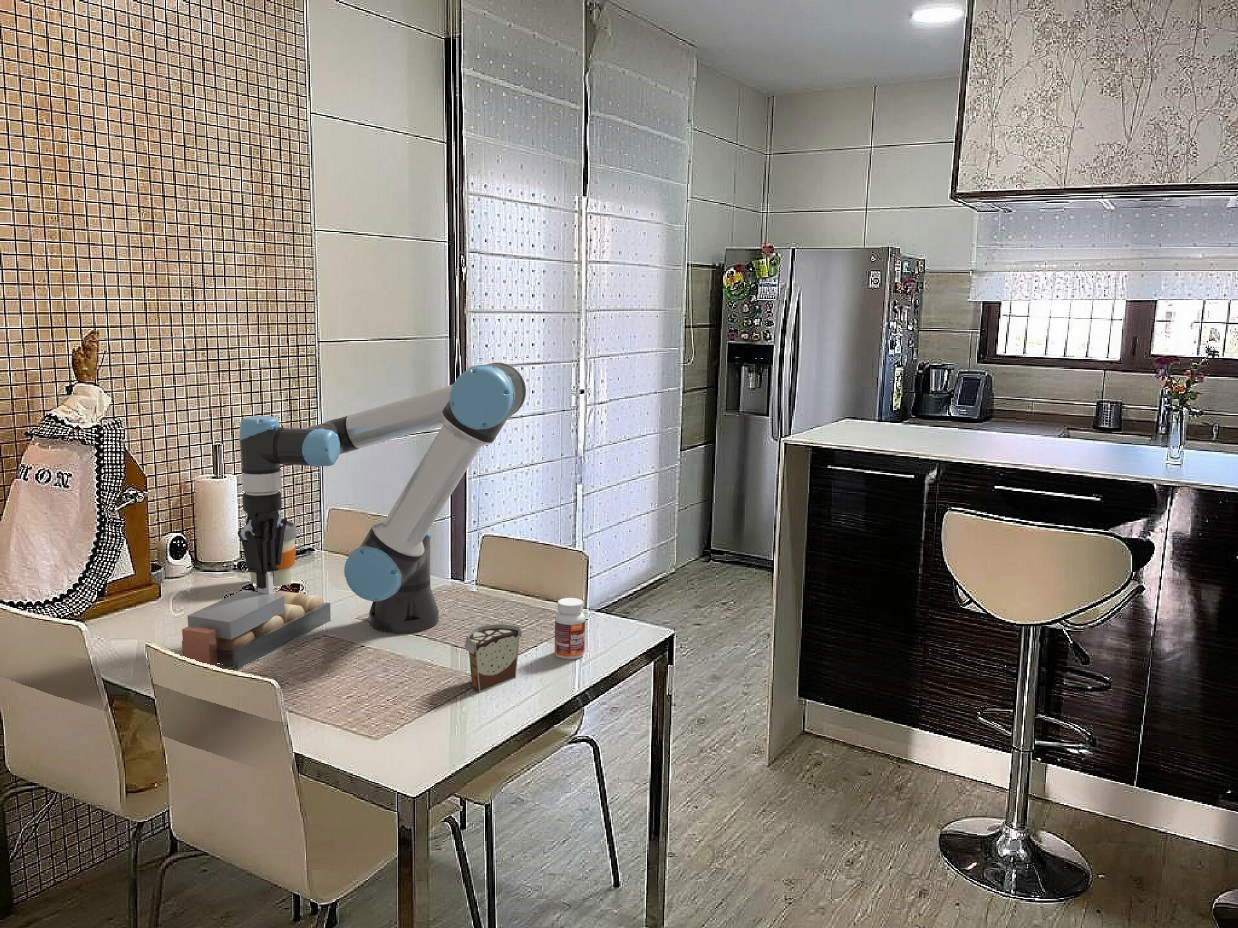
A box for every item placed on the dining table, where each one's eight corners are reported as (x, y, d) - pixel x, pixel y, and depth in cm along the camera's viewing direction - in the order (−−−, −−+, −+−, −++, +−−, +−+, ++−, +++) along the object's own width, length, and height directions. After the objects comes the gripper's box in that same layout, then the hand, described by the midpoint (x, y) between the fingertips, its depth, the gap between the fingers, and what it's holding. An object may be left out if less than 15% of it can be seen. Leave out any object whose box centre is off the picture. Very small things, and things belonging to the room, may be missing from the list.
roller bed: (330, 620, 207) (329, 585, 205) (225, 676, 175) (223, 635, 174) (280, 613, 210) (279, 578, 209) (169, 666, 179) (167, 626, 177)
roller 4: (306, 626, 201) (303, 601, 199) (288, 638, 195) (286, 612, 193) (267, 621, 203) (264, 595, 202) (248, 632, 198) (245, 606, 196)
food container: (499, 667, 183) (499, 618, 181) (521, 675, 179) (521, 626, 177) (450, 685, 173) (450, 634, 172) (473, 695, 170) (473, 643, 168)
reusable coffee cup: (297, 575, 239) (295, 518, 236) (299, 589, 227) (297, 530, 225) (244, 579, 234) (242, 521, 232) (244, 594, 223) (241, 533, 220)
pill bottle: (574, 662, 186) (575, 608, 184) (548, 656, 189) (549, 602, 187) (590, 653, 191) (591, 600, 189) (564, 647, 194) (565, 594, 192)
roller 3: (325, 616, 207) (323, 591, 206) (309, 627, 202) (306, 602, 200) (287, 611, 210) (284, 586, 208) (270, 622, 204) (267, 596, 203)
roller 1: (258, 644, 187) (247, 623, 183) (241, 667, 182) (230, 647, 179) (221, 638, 189) (210, 618, 186) (204, 661, 185) (191, 641, 181)
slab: (284, 611, 193) (283, 595, 192) (231, 639, 178) (229, 622, 177) (244, 605, 196) (243, 590, 195) (188, 632, 181) (187, 615, 180)
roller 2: (285, 637, 194) (282, 611, 192) (266, 650, 188) (263, 622, 187) (245, 631, 197) (242, 605, 195) (225, 643, 191) (222, 616, 190)
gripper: (267, 484, 198) (271, 590, 202) (224, 496, 186) (229, 608, 190) (297, 487, 196) (300, 594, 200) (255, 499, 184) (260, 613, 188)
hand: (266, 601), depth 195 cm, fingers closed
